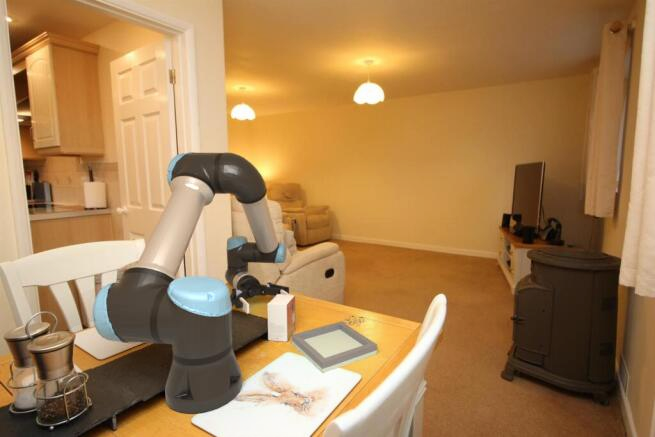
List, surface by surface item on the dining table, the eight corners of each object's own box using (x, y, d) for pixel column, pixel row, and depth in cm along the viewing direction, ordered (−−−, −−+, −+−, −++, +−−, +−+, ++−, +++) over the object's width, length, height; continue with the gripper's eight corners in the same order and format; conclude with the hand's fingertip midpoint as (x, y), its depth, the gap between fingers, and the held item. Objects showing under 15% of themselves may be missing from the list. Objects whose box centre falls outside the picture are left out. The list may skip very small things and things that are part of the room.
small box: (287, 342, 92) (286, 305, 91) (267, 340, 93) (266, 303, 92) (295, 329, 100) (295, 294, 98) (277, 327, 101) (277, 293, 99)
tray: (322, 373, 78) (322, 362, 78) (291, 343, 91) (291, 334, 91) (376, 353, 86) (377, 344, 86) (341, 329, 100) (341, 321, 99)
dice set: (343, 327, 103) (343, 320, 103) (349, 320, 107) (349, 314, 107) (359, 330, 101) (359, 324, 100) (364, 323, 105) (365, 317, 105)
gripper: (279, 288, 128) (306, 307, 110) (210, 302, 115) (229, 325, 97) (278, 269, 127) (306, 285, 109) (209, 280, 114) (228, 300, 96)
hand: (269, 304), depth 103 cm, fingers open, 13 cm apart
